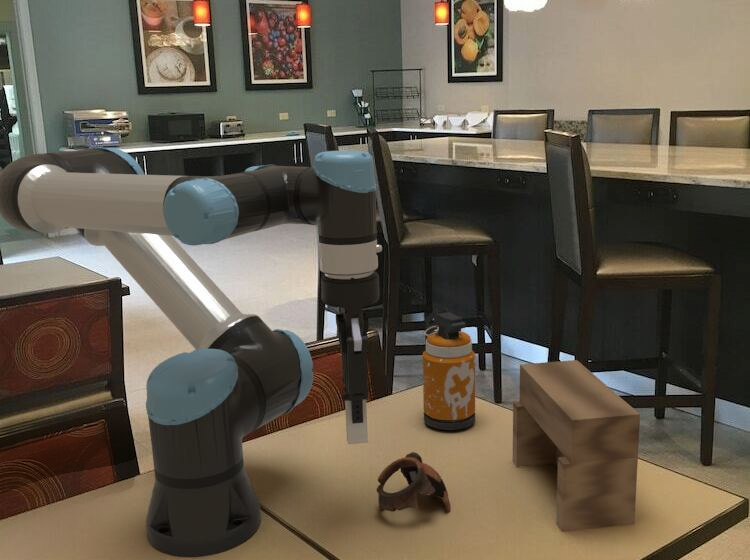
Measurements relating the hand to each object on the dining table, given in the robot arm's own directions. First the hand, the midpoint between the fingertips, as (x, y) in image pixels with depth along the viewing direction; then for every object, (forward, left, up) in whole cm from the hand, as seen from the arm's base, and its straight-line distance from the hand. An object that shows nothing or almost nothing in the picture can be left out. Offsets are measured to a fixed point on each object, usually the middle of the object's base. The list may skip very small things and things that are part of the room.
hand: (357, 441), depth 108 cm
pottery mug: (+9, +1, -12) cm, 15 cm away
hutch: (+26, 0, -11) cm, 28 cm away
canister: (+19, +28, -11) cm, 36 cm away
